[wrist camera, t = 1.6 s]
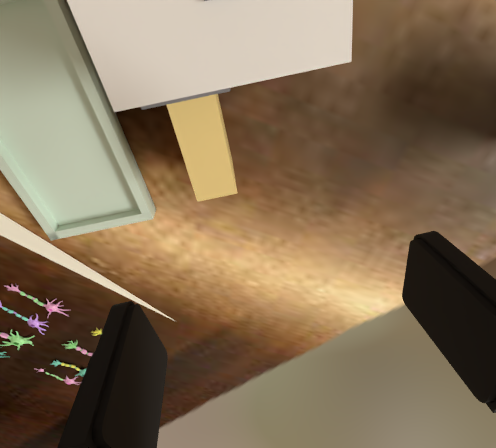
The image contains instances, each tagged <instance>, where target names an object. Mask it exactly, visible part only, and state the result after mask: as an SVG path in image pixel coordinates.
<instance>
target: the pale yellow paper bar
mask: <svg viewBox="0 0 496 448" xmlns="http://www.w3.org/2000/svg"><path fill="white" fill-rule="evenodd" d="M167 108H168V111H169V114H170V118H171V121H172V124H173V127H174V130H175V133H176V136H177V139H178V143H179V146H180V149H181V152H182V155H183V158H184V161H185V164H186V167H187V171H188V174H189V177H190V180H191V183H192V186H193V189H194V192H195V196H196V199H197V202H198V201H203V200H208V199H213V198H217V197H222V196H227V195H232V194H237V187H236V181H235V175H234V169H233V163H232V157H231V153H230V148H229V144H228V139H227V134H226V130H225V125H224V121H223V116H222V112H221V107H220V103H219V98H218V94H214V95H209V96H205V97H200V98H195V99H191V100H186V101H181V102H177V103H172V104H167Z"/></svg>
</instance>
